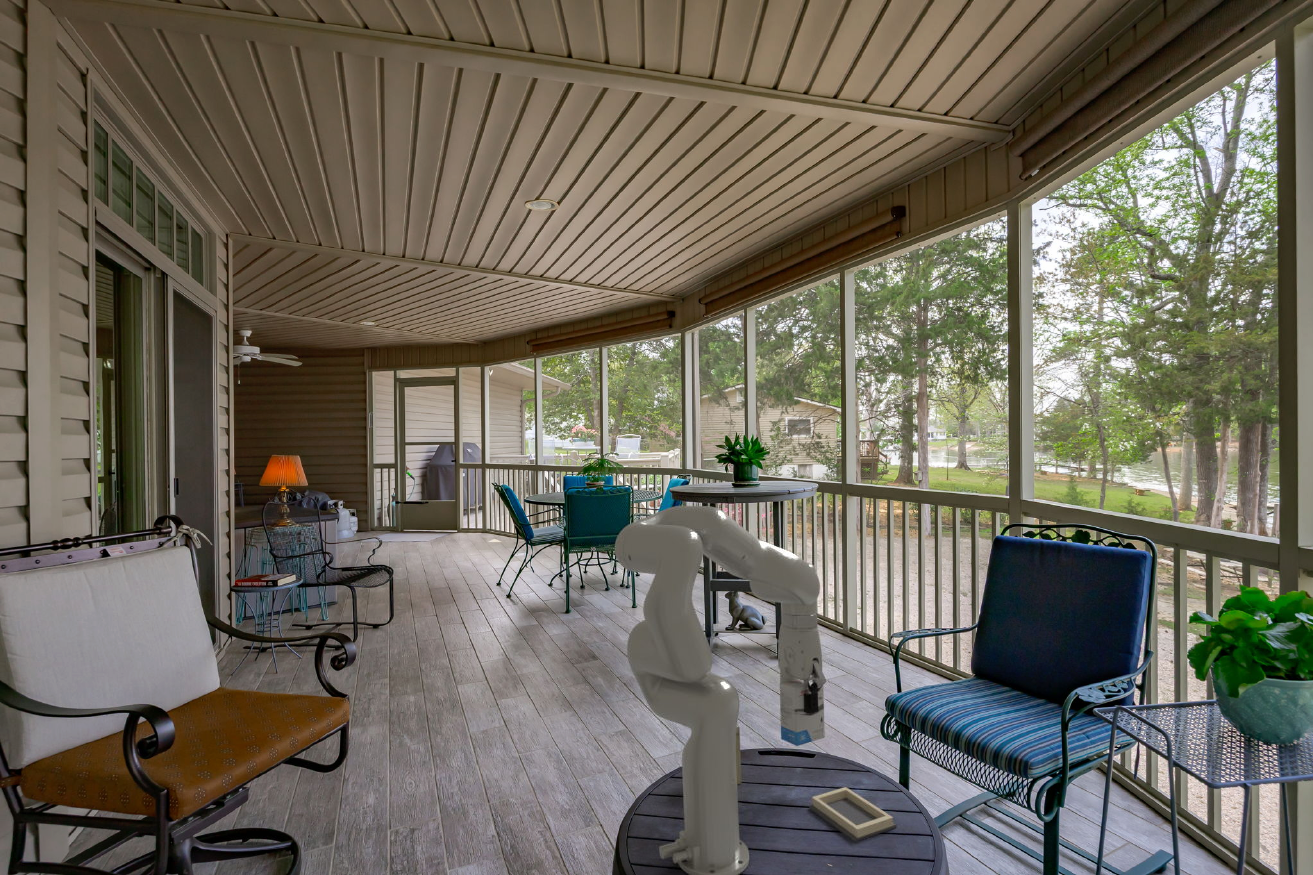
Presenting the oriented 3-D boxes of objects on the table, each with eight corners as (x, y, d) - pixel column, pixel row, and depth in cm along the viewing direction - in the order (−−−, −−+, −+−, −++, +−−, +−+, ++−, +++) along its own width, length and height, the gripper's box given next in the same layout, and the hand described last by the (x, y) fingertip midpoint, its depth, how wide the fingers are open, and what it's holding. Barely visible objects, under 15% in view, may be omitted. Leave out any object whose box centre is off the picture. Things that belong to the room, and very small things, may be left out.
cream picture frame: (854, 841, 115) (854, 830, 115) (809, 808, 127) (808, 797, 127) (896, 827, 119) (896, 816, 119) (849, 796, 131) (848, 786, 131)
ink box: (797, 747, 131) (795, 673, 132) (780, 739, 135) (778, 668, 136) (826, 737, 136) (823, 666, 137) (808, 730, 140) (806, 661, 141)
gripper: (762, 615, 143) (764, 698, 142) (810, 630, 128) (813, 724, 127) (790, 612, 147) (792, 693, 145) (840, 626, 131) (843, 717, 130)
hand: (802, 706), depth 136 cm, fingers closed on ink box, 5 cm apart
